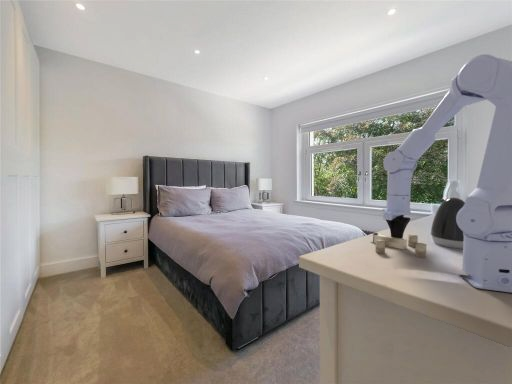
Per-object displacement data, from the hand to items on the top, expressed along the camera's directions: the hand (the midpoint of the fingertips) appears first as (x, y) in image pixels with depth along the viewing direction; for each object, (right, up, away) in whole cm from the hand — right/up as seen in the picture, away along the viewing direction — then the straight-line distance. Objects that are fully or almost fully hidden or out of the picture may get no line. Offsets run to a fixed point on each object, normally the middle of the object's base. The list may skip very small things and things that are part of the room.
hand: (396, 241), depth 67 cm
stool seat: (-2, -3, -3) cm, 4 cm away
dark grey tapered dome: (+17, -3, +2) cm, 18 cm away
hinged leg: (-2, -1, 0) cm, 2 cm away
